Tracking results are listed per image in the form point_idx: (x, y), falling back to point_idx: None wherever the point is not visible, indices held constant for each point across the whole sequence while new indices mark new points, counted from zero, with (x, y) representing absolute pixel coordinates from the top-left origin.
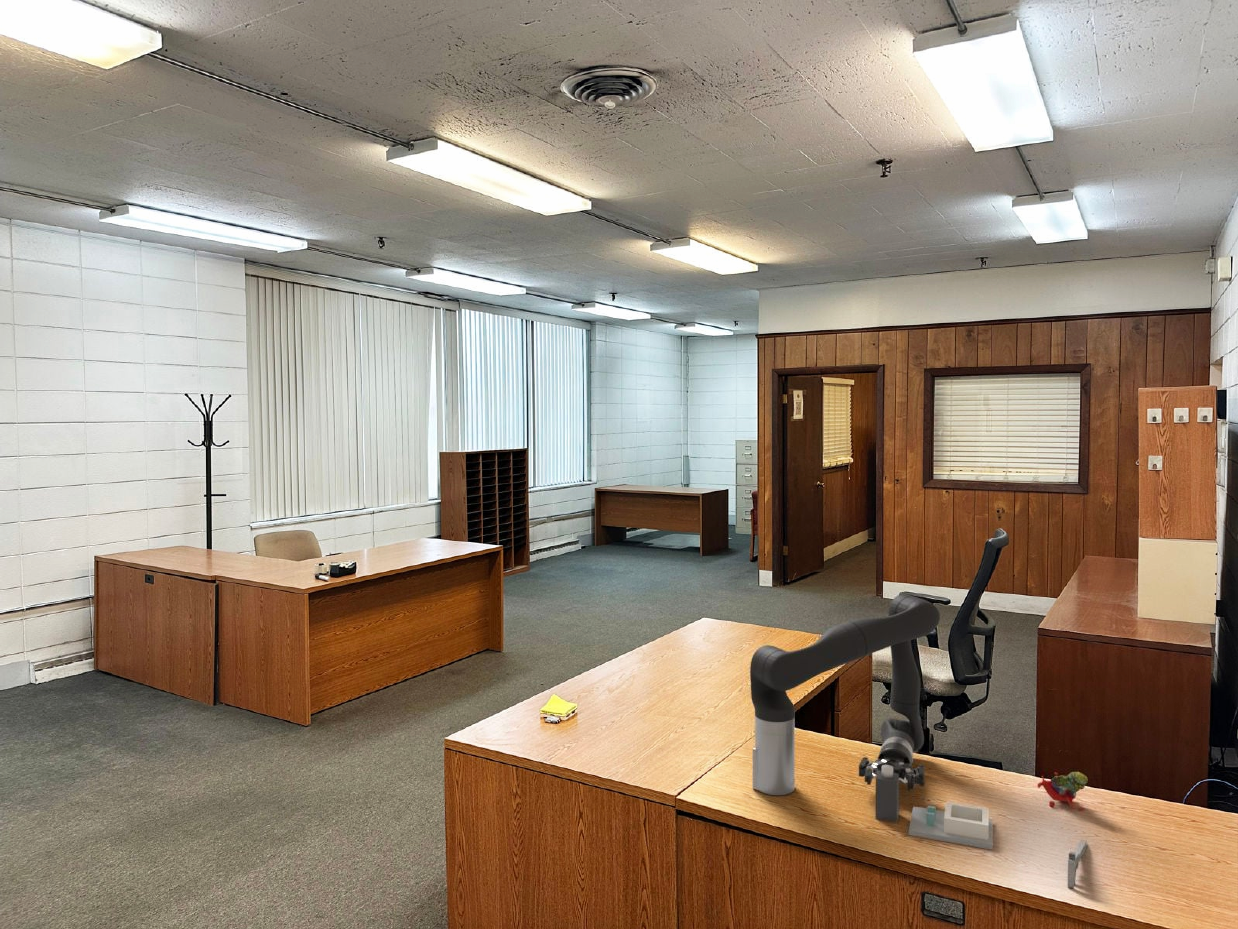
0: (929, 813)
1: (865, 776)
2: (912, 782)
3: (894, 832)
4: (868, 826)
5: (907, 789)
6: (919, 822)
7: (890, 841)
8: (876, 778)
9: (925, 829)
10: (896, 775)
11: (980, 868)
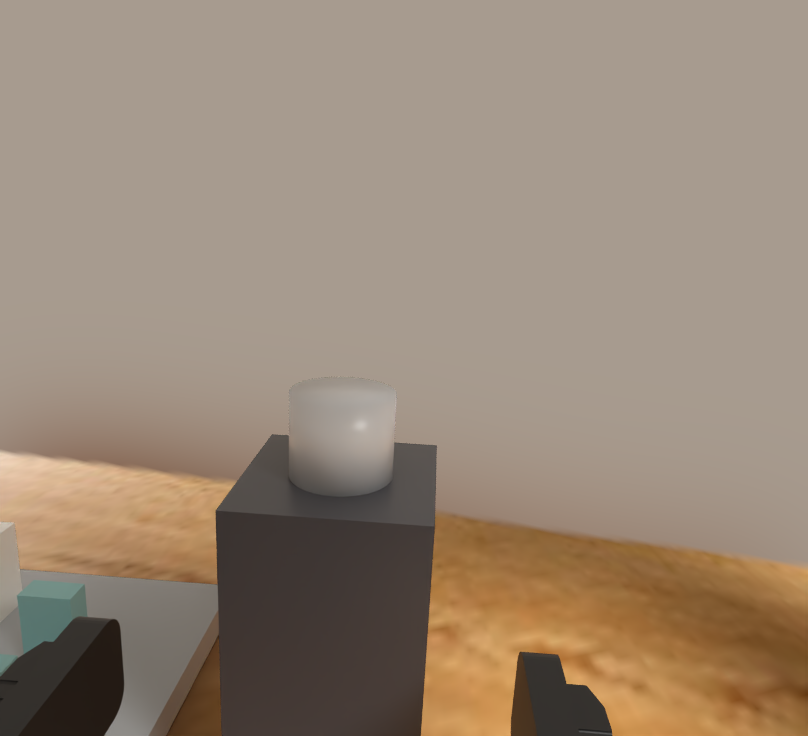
0: (60, 586)
1: (582, 689)
2: (41, 653)
3: None
4: (449, 641)
5: (123, 678)
6: (126, 664)
7: None
8: (430, 446)
9: (125, 606)
10: (252, 483)
11: (19, 488)
